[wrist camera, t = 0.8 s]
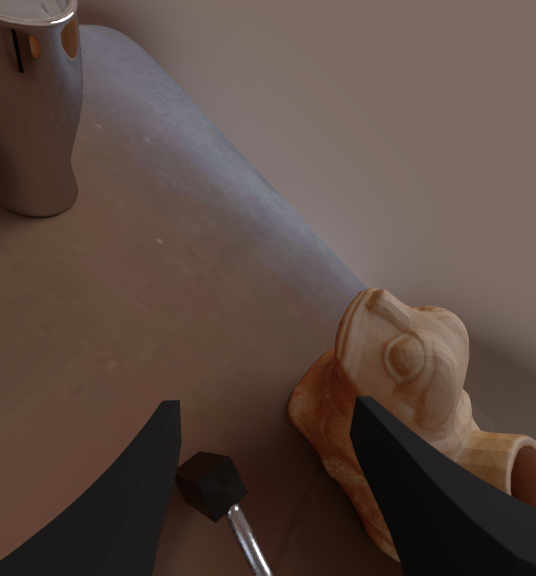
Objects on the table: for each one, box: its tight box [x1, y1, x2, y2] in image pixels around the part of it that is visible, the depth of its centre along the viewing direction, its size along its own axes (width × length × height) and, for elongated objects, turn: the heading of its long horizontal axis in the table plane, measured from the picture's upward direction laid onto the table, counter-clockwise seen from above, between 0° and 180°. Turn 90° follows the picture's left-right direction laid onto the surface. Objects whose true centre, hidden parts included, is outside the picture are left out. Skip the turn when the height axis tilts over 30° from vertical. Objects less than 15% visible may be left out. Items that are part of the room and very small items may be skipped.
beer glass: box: [0, 0, 83, 217], centre depth 19 cm, size 7×7×15 cm
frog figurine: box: [287, 288, 536, 563], centre depth 25 cm, size 14×26×15 cm, turn 41°
